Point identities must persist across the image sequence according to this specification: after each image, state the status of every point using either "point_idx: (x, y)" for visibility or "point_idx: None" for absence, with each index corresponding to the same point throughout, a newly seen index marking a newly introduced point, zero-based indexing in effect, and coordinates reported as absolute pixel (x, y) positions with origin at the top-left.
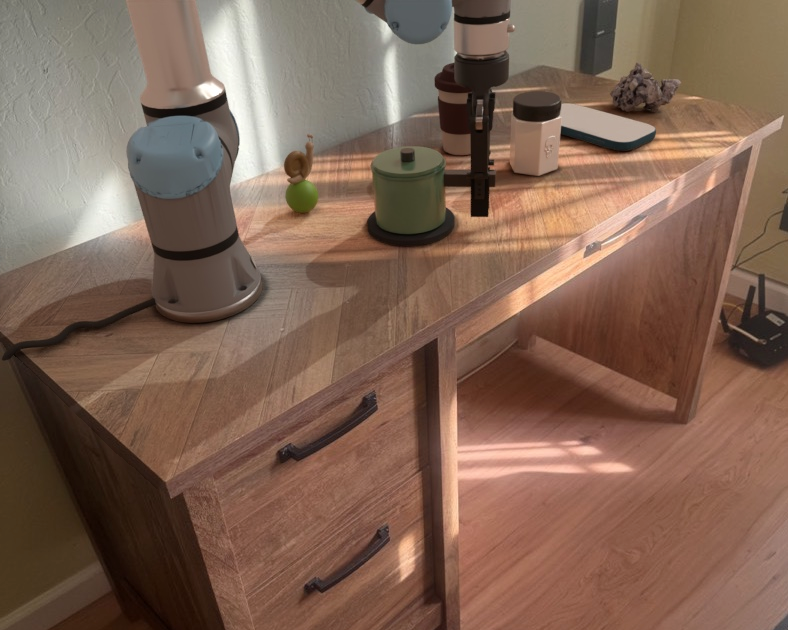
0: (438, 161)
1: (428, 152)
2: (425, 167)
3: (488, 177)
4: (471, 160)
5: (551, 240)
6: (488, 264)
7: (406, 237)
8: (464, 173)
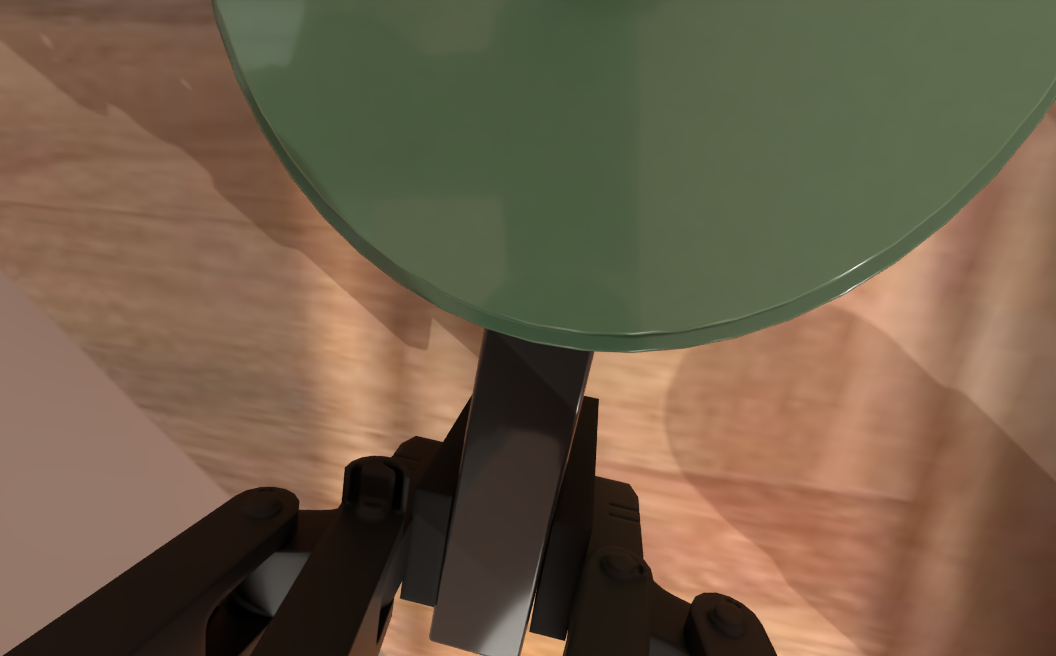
0: (486, 276)
1: (791, 186)
2: (347, 117)
3: (403, 591)
4: (92, 599)
5: (395, 612)
6: (230, 371)
7: None
8: (479, 456)
